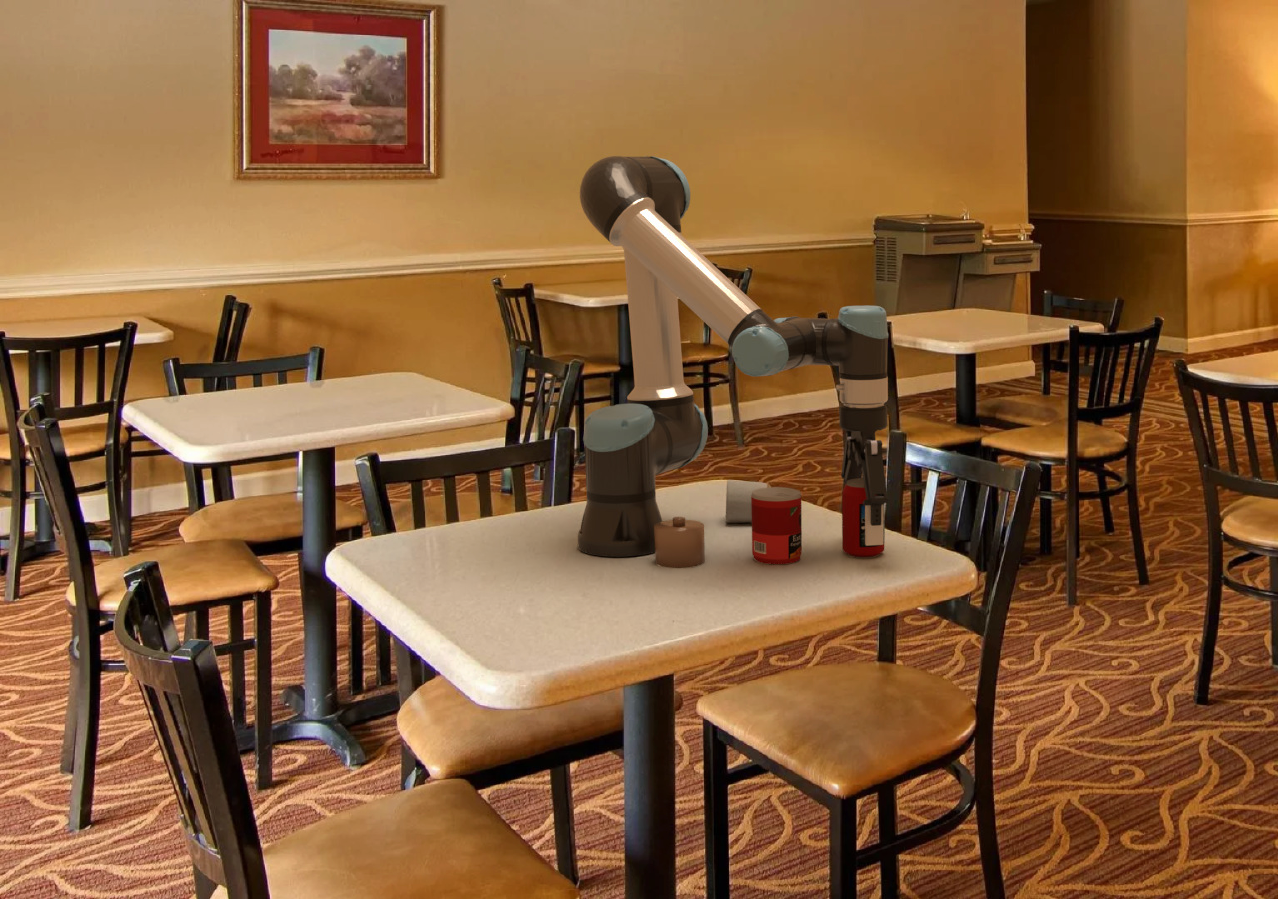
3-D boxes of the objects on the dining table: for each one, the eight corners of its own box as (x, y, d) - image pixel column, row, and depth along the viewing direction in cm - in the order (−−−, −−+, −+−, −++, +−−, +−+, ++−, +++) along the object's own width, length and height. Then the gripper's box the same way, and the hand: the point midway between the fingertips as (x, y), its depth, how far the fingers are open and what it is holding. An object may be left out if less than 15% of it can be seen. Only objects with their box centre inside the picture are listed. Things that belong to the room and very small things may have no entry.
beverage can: (875, 561, 208) (875, 487, 206) (835, 556, 212) (835, 484, 210) (890, 551, 214) (891, 479, 212) (852, 547, 217) (851, 476, 215)
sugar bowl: (645, 563, 212) (643, 520, 210) (676, 552, 218) (675, 510, 216) (684, 571, 207) (682, 526, 205) (714, 559, 213) (713, 516, 211)
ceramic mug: (771, 526, 233) (771, 483, 232) (725, 526, 234) (724, 484, 232) (770, 513, 243) (770, 472, 242) (726, 514, 244) (725, 473, 243)
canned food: (799, 565, 207) (799, 497, 205) (749, 564, 209) (748, 496, 207) (803, 553, 215) (803, 487, 213) (754, 552, 216) (753, 486, 214)
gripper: (823, 394, 220) (823, 517, 224) (859, 417, 196) (859, 555, 200) (867, 392, 221) (867, 515, 225) (908, 414, 196) (907, 552, 200)
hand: (863, 534), depth 212 cm, fingers open, 13 cm apart
